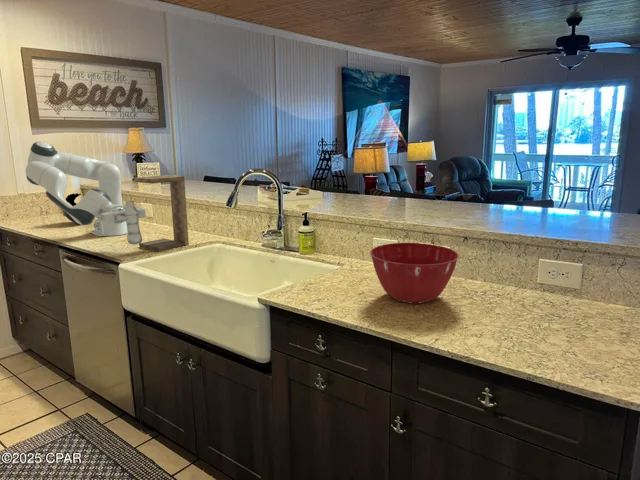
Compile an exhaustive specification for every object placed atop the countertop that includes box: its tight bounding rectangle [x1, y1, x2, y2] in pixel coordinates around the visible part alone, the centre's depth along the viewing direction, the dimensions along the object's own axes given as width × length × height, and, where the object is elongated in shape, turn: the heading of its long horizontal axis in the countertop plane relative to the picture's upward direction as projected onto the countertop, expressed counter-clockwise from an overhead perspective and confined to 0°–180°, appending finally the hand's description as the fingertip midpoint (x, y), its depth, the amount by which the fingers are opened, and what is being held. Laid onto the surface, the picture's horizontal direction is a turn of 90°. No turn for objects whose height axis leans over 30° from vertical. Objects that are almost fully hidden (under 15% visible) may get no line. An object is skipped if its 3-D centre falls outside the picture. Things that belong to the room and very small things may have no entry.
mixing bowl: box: [369, 242, 460, 304], centre depth 161 cm, size 28×28×16 cm
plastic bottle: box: [124, 200, 143, 245], centre depth 224 cm, size 6×7×20 cm
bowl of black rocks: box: [62, 192, 86, 224], centre depth 303 cm, size 20×20×19 cm
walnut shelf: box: [133, 174, 190, 253], centre depth 235 cm, size 16×18×34 cm
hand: (133, 216), depth 223 cm, fingers closed on plastic bottle, 6 cm apart
